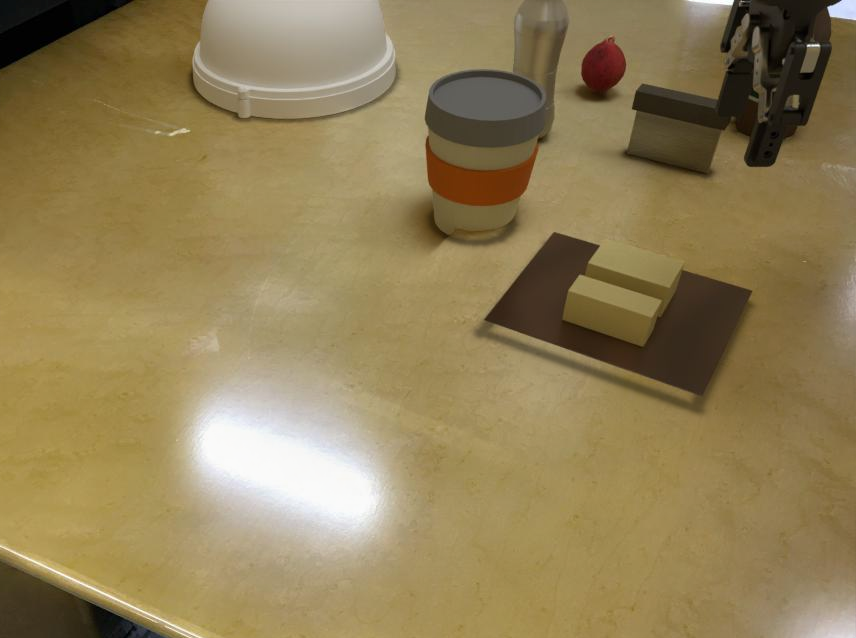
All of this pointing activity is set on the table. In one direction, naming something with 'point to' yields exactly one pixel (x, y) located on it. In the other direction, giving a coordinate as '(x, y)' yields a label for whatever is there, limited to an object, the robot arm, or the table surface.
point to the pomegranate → (603, 66)
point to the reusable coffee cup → (481, 146)
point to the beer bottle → (751, 109)
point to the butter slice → (611, 310)
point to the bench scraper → (675, 128)
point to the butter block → (636, 270)
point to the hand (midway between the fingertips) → (742, 138)
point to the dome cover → (292, 56)
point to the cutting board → (658, 359)
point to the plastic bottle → (540, 46)
